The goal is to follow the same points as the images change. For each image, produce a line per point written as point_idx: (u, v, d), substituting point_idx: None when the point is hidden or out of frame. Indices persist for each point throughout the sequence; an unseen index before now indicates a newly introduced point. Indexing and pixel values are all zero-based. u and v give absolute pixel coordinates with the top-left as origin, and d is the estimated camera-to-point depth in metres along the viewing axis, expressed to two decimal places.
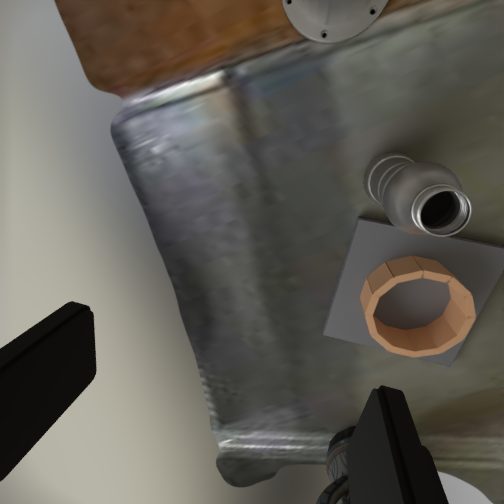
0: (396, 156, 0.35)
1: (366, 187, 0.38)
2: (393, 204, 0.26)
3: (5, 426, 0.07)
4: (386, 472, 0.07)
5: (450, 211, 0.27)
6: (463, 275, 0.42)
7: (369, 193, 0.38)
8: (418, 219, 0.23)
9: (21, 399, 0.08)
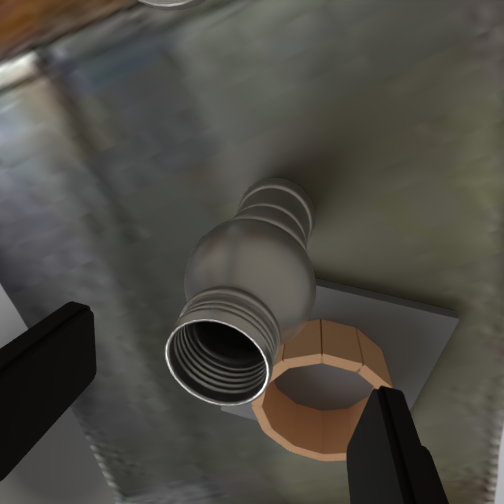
0: (270, 186, 0.23)
1: None
2: (187, 300, 0.14)
3: (5, 426, 0.07)
4: (386, 472, 0.07)
5: None
6: (392, 348, 0.29)
7: None
8: None
9: (21, 399, 0.08)
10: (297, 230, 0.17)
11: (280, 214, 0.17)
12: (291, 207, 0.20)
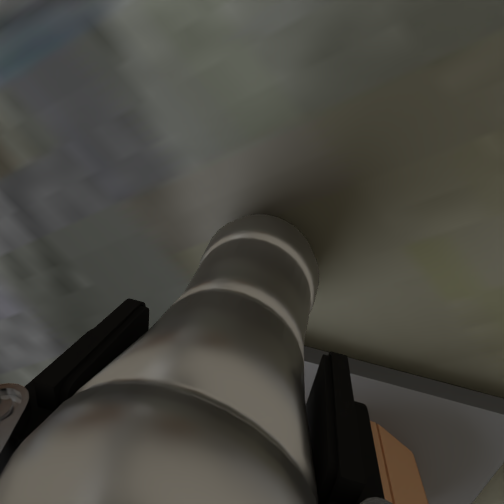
0: (247, 236, 0.14)
1: None
2: None
3: None
4: (321, 419, 0.08)
5: None
6: (429, 452, 0.21)
7: None
8: None
9: None
10: (284, 356, 0.08)
11: (250, 320, 0.08)
12: (278, 282, 0.11)
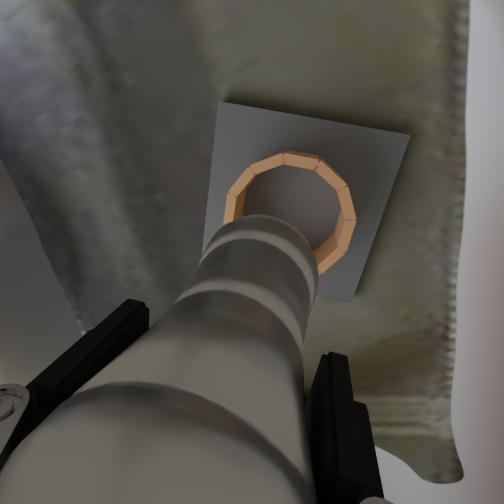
0: (246, 236, 0.14)
1: None
2: None
3: None
4: (321, 419, 0.08)
5: None
6: (352, 175, 0.32)
7: None
8: None
9: None
10: (283, 357, 0.08)
11: (249, 321, 0.08)
12: (277, 282, 0.11)
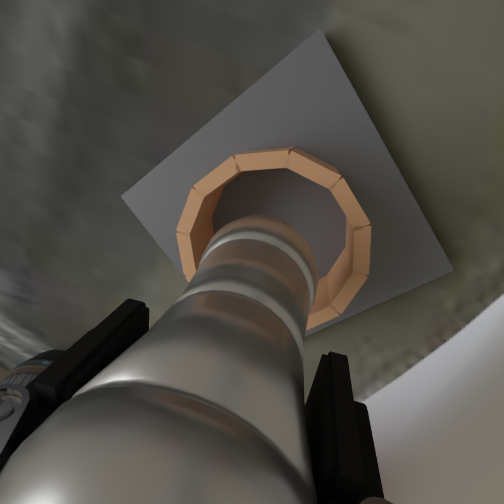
0: (246, 236, 0.14)
1: None
2: None
3: None
4: (321, 419, 0.08)
5: None
6: (369, 255, 0.24)
7: None
8: None
9: None
10: (283, 358, 0.08)
11: (249, 322, 0.08)
12: (277, 283, 0.11)
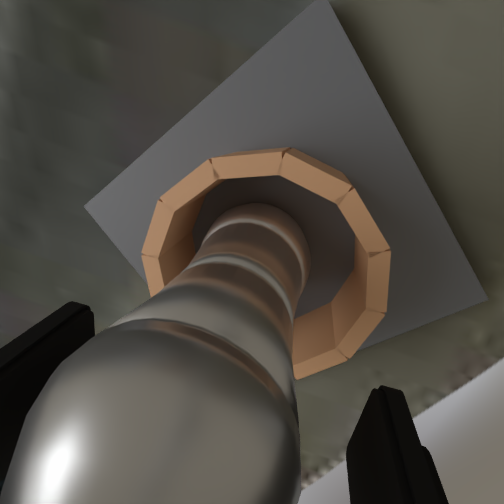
0: (244, 220, 0.15)
1: None
2: None
3: (5, 426, 0.07)
4: (386, 472, 0.07)
5: None
6: None
7: None
8: None
9: (21, 399, 0.08)
10: (274, 315, 0.10)
11: (245, 285, 0.10)
12: (271, 259, 0.13)
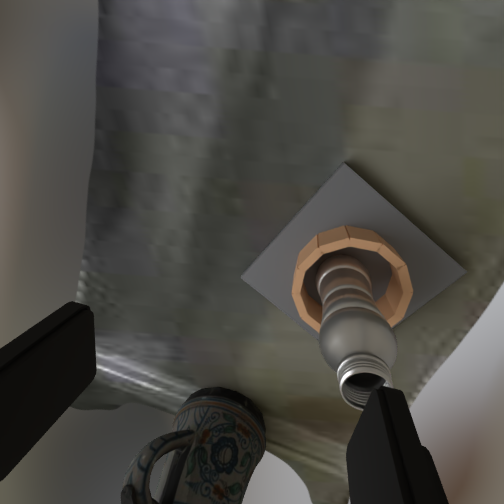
0: (337, 267, 0.34)
1: None
2: (326, 360, 0.25)
3: (5, 426, 0.07)
4: (386, 472, 0.07)
5: None
6: (409, 275, 0.38)
7: None
8: None
9: (21, 399, 0.08)
10: (371, 301, 0.28)
11: (358, 293, 0.29)
12: (358, 282, 0.31)
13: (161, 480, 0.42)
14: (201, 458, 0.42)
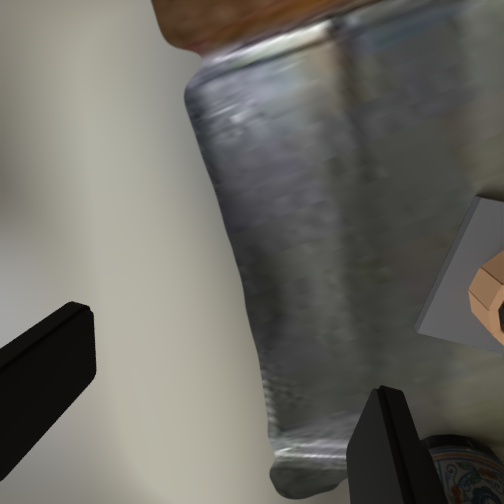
0: None
1: None
2: None
3: (5, 426, 0.07)
4: (386, 472, 0.07)
5: None
6: None
7: None
8: None
9: (21, 399, 0.08)
10: None
11: None
12: None
13: None
14: None
